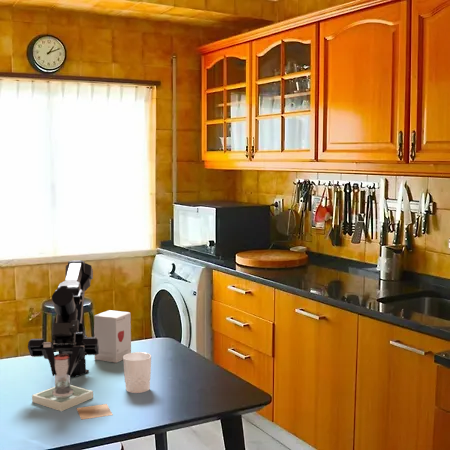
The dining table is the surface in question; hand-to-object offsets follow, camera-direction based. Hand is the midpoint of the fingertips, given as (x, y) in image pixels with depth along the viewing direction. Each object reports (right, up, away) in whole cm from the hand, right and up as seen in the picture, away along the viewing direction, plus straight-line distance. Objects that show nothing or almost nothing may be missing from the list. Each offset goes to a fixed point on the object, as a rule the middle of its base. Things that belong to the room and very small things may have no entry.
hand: (61, 375), depth 177 cm
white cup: (+19, -7, +11) cm, 23 cm away
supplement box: (+7, -4, +41) cm, 41 cm away
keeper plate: (+10, -9, -6) cm, 14 cm away
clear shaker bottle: (0, -6, +2) cm, 6 cm away
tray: (0, -8, +2) cm, 8 cm away
